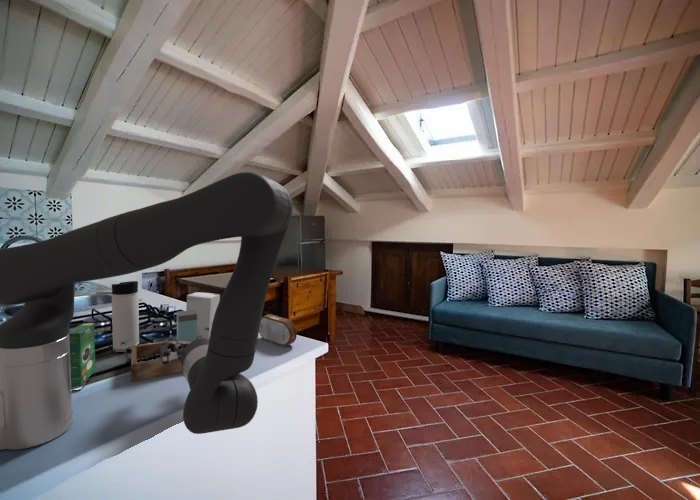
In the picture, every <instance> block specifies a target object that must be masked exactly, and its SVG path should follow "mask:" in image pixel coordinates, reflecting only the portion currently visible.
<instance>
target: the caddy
mask: <svg viewBox="0 0 700 500" xmlns="http://www.w3.org/2000/svg"><path fill="white" fill-rule="evenodd" d="M201 338H202V337H201V336H197V339H201ZM176 341H177V339H176ZM161 343H166V344H168V340H164V341H157V342H150V343H142V344H139V345H135V346H132V351H131V356H130V357H131V358H130V359H131V361H130V362H131V363H130V369H131V370H130V376H131V377H130V378H131V381H130V382H137V381H141V380H147V379H152V378H156V377H162V376H167V375H172V374H177V373H183V368H182V364H181V361H179V360H178V359H172V360H171V361H169V364H166V365H164V364H162V361H161V359H155V360H154V359H152V360H149V361H140V362H137V360H139V359H144V358H148V357H150V356H152V355H153V354H154V353H155V354H158V355H160V344H161Z"/></svg>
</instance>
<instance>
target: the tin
mask: <svg viewBox="0 0 700 500" xmlns="http://www.w3.org/2000/svg"><path fill="white" fill-rule="evenodd" d="M297 333H298V332H297V328H296V326H295V324H294V322H292V320H290V319H288V318H285V317H283V316H282V317H281V316H278V315H276V314H275V315H274V314H272V313H267V314H266V315H264V316H263V315H262V318H261V323H260V328H259V335H260V336H261V337H262V339H263V340H265V341H267V342H270V343H273V344H276V345H278V346H282V347H286V346H289V345H292V344H294V343H295V341H296V339H297Z"/></svg>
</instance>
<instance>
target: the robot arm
mask: <svg viewBox="0 0 700 500" xmlns="http://www.w3.org/2000/svg"><path fill="white" fill-rule="evenodd" d="M293 207H294V206H293V200H292V197H291V195H290V193H289V191H287V189H286V188H285V187H284V186H282V184H280V183H278V182H276V181H274V180H273V179H270V178H269V177H268V176H265V175H263V174H261V173H258V172H252V171H245V172H242V171H241V172H237V173H233V174H231V175H229V176H226V177H224V178H221V179H219V180H217V181H215V182H213V183H211V184H209V185H206V186H204V187H201V188H200V189H197V190H195V191H193V192H190V193H188V194H186V195H183V196H181V197H177V198H173V199H169V200H166V201H162V202H158V203H155V204H152V205H148V206H144V207H141V208H137V209H133V210H130V211H126V212H123V213H120V214H116V215H114V216H110V217H107V218H104V219H102V220H99V221H96V222H93V223H90V224H87V225H85V226H81V227H78V228H76V229H73V230H71V231H67V232H64V233H61V234H59V235H57V236H53V237H52V238H48V239H45V240H41V241H38V242H34V243H28V244H27V243H26V244H24V245H18V246H12V247H4V248H0V305H2V306H6V305H7V306H8V305H9V306H11V305H13V306H14V305H22V304H24V305H23V306H22V308H21V309H20V310H19V311H18V312H17V313H16V314H14V315H12V317H10V318H9V319H7V320H5V321H4V322H2V323H1V324H0V451H2V450H12V451H14V450H23V449H29V448H32V447H36V446H40V445H43V444H45V443H47V442H50V441H53V440H54V439H56V438H58V437H59V436H61V435H63V434H64V433H66V432H67V431H68V430H69V429H70V428H71V427H72V424H73V405H72V404H73V401H72V399H73V398H72V391H71V369H70V341H69V332H70V324H72V323H71V322H72V320H73V319H74V314H75V287H76V284H77V283H81V282H82V283H83V282H91V281H97V280H103V279H109V278H114V277H119V276H125V275H130V274H132V273H137V272H140V271H143V270H147V269H152V268H155V267H158V266H160V265H162V264H166V263H167V262H169V261H171V260H172V259H174V258H176V257H178V256H179V255H180V254H182V253H183V252H185V251H187V250H189V249H191V248H193V247H196V246H198V245H202V244H207V243H210V242H215V241H220V240H226V239H232V238H240V248H239V251H238V252H239V253H238V257H237V260H236V264H235V266H234V269H233V271H232V274H231V276H230V277H229V280H228V283H227V284H226V287H225V288H224V290H223V293H222V295H221V296H220V301H219V304H218V306H217V309H216V312H215V315H214V319H213V323H212V328H211V331H210V337H209V338H207V339H206V338H201V339H197V340H194V341H191V342H187V341H182V340H181V341H179V342H177V341H176V340H177V338H176V337H175V335H172V336H170V338H168V339H167V341H168V344H166V343H161V344H160V358H161V361H162V364H164V365H166V364H169V361H171V360H172V359H178V360H179V361H181V364H182V368H183V372H182V374H183V377H184V378H185V380H186V381H187V383H188V385H189V386H188V387H189V389H190V390H189V393H188V394H187V397H186V399H185V402H184V405H183V411H182V412H183V413H182V419H183V423H184V426H185V427H186V429H187V430H188V431H189V432H190V433H191V434H194V435H195V434H196V435H197V434H198V435H201V434H210V433H213V432H219V431H221V432H222V431H227V430H234V429H239V428H242V427H245V426H247V425H248V424H249V423H250V422H251V421H252V420H253V419H254V417H255V416H256V414H257V409H258V403H259V401H258V400H259V399H258V394H257V391H256V388H255V386H254V385H253V383H252V381H251V380H250V379H248V378H247V376H244V375H243V374H242V373H243V372H246V371H248V370H249V369H250V368H251V366H252V365H253V362H254V359H255V356H256V355H255V354H256V350H257V344H258V339H259V335H260V333H259V328H260V323H261V318H262V317H263V312H264V308H265V303H266V302H265V301H266V298H267V294H268V291H269V287H270V283H271V278H272V275H273V273H274V268H275V265H276V262H277V259H278V256H279V253H280V250H281V247H282V244H283V242H284V240H285V237H286V234H287V231H288V229H289V225H290V223H291V220H292V217H293V211H294V210H293Z"/></svg>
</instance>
